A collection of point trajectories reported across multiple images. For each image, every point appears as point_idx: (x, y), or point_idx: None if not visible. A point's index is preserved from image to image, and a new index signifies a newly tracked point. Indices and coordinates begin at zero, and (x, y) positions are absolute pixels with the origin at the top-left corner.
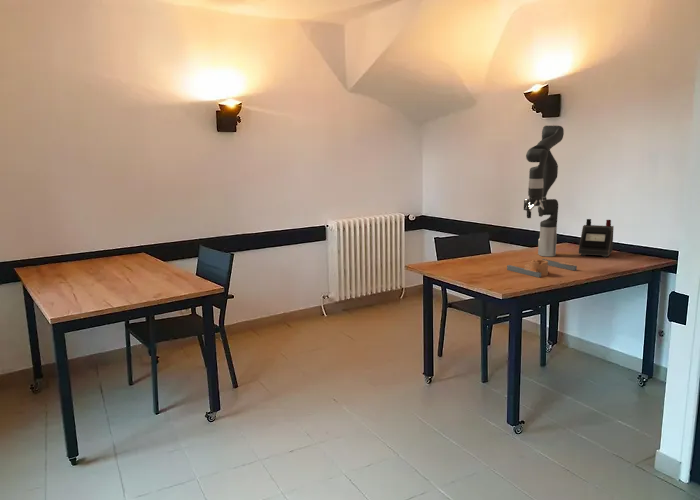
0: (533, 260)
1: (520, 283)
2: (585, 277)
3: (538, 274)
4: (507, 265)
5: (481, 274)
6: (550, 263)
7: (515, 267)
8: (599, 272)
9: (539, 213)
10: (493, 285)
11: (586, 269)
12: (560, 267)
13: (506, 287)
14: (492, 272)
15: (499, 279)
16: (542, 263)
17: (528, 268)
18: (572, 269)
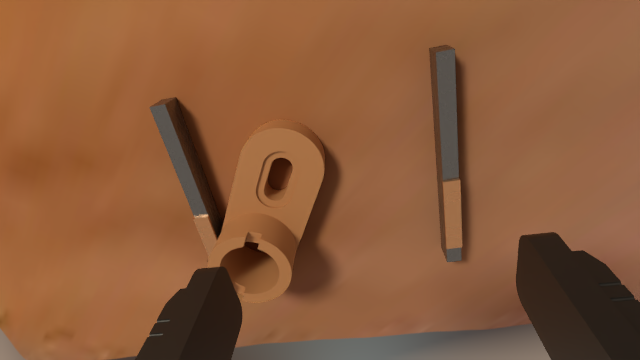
0: (233, 246)
1: (124, 306)
2: (388, 331)
3: None
4: (150, 109)
5: (3, 130)
6: (436, 119)
7: (174, 165)
8: (502, 302)
9: (547, 291)
10: (20, 292)
11: (510, 247)
12: (437, 179)
13: (59, 324)
14: (68, 116)
15: (65, 236)
16: (243, 299)
17: (228, 204)
18: (442, 240)
